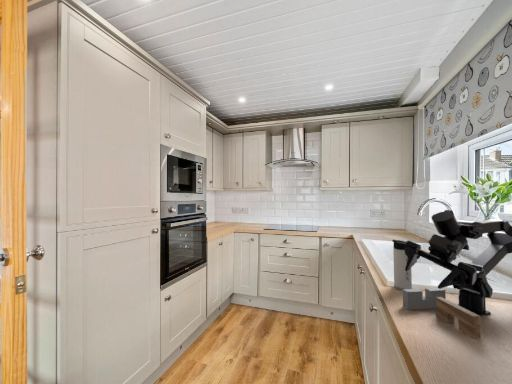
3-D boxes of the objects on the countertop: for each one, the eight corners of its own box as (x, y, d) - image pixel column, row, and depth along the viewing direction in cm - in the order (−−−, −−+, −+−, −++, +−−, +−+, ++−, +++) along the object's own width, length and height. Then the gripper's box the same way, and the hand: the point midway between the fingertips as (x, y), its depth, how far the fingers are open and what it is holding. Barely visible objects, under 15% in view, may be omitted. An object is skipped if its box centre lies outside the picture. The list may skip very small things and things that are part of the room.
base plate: (439, 304, 83) (439, 287, 83) (445, 307, 80) (445, 290, 80) (402, 306, 82) (402, 289, 82) (407, 309, 79) (407, 292, 79)
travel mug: (394, 284, 102) (393, 238, 102) (412, 287, 98) (410, 240, 98) (392, 288, 97) (391, 241, 97) (411, 292, 93) (410, 242, 93)
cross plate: (441, 315, 75) (441, 297, 75) (480, 338, 63) (480, 316, 63) (436, 315, 75) (435, 297, 75) (474, 338, 63) (473, 316, 63)
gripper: (417, 218, 79) (388, 246, 74) (489, 242, 63) (459, 279, 59) (418, 240, 84) (392, 268, 80) (486, 268, 68) (458, 304, 64)
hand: (421, 278), depth 70 cm, fingers open, 9 cm apart
